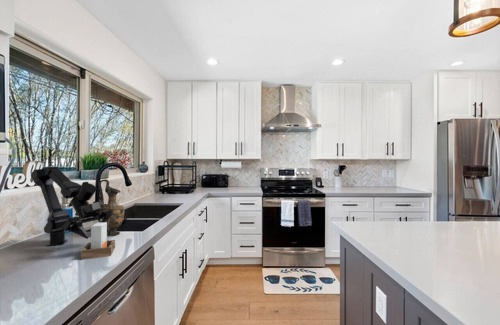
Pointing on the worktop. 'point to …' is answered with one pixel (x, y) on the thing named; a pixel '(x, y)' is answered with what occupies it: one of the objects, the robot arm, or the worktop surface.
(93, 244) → the skincare box
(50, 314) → the worktop surface
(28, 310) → the worktop surface
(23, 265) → the worktop surface
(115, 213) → the vase
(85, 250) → the walnut holder
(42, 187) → the robot arm
